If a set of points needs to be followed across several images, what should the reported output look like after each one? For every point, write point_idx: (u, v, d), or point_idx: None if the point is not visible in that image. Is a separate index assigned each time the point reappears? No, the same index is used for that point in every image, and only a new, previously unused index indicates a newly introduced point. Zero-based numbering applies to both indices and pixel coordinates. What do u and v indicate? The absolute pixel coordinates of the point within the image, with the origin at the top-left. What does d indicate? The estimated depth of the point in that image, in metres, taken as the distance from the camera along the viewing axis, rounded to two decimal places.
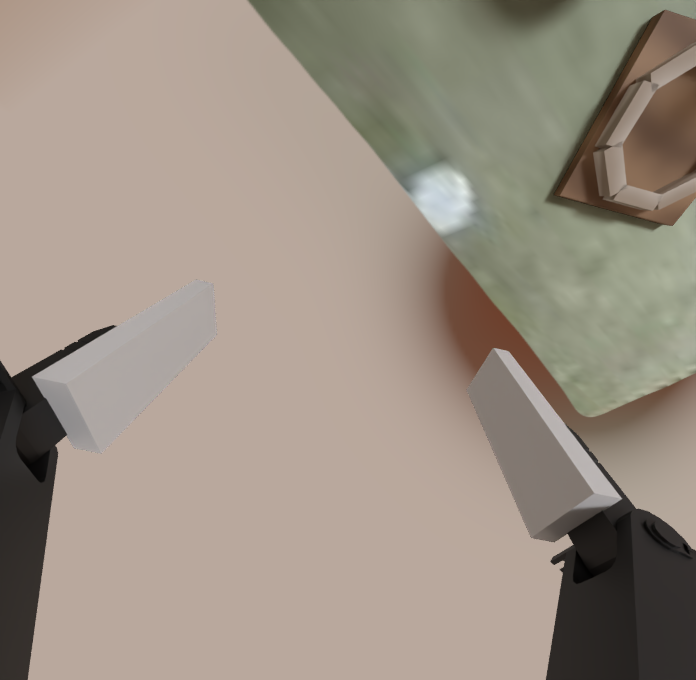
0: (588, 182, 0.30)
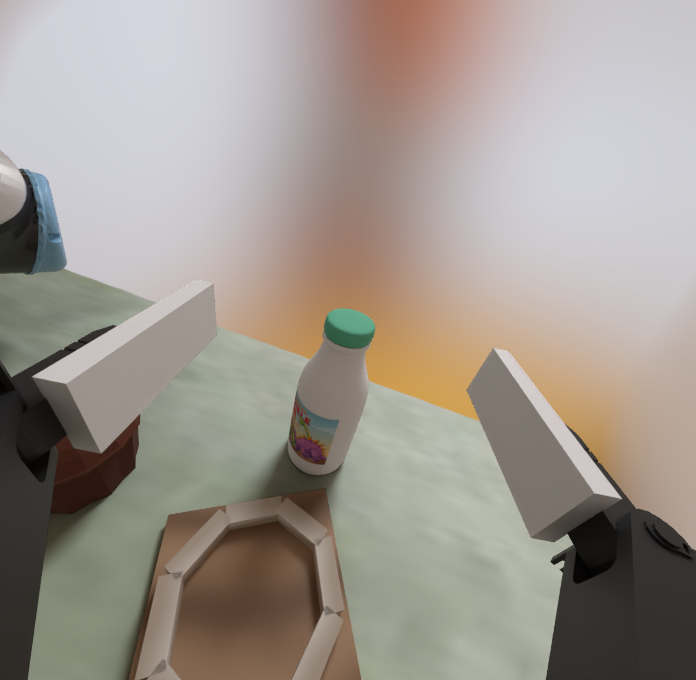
0: None
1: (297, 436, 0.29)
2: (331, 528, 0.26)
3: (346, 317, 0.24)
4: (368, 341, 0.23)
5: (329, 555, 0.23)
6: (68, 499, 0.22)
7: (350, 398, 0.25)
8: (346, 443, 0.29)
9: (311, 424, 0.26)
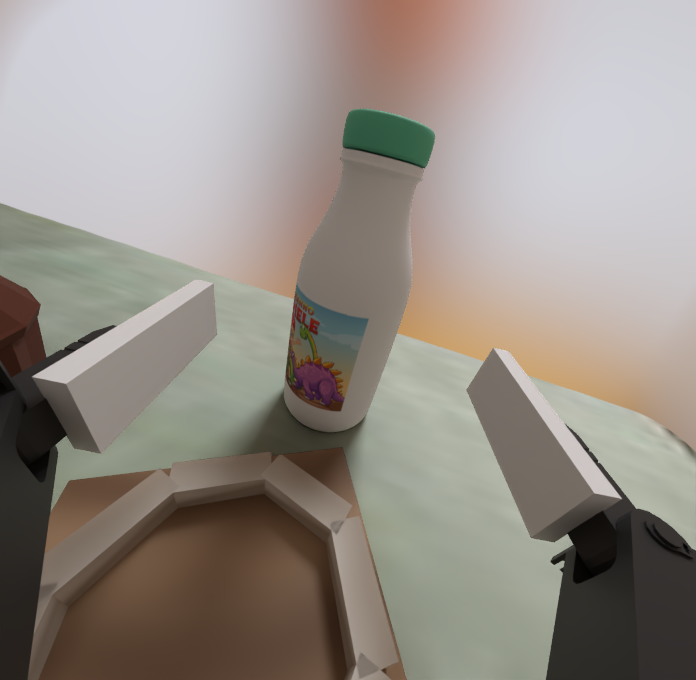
0: None
1: (297, 363, 0.18)
2: (356, 506, 0.16)
3: None
4: (425, 152, 0.13)
5: (358, 550, 0.12)
6: None
7: (388, 275, 0.14)
8: (374, 376, 0.19)
9: (320, 331, 0.16)
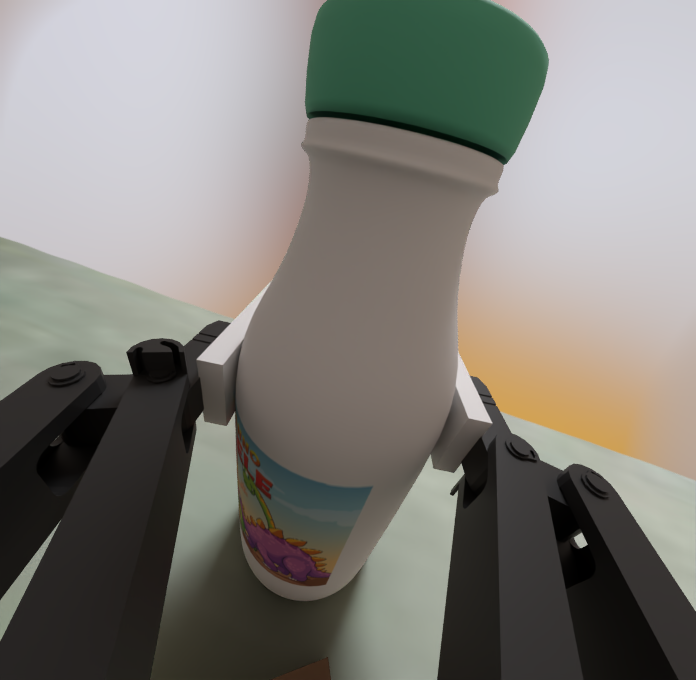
0: None
1: (247, 516, 0.10)
2: None
3: None
4: (524, 121, 0.05)
5: None
6: None
7: (417, 407, 0.06)
8: (383, 530, 0.11)
9: (276, 497, 0.08)
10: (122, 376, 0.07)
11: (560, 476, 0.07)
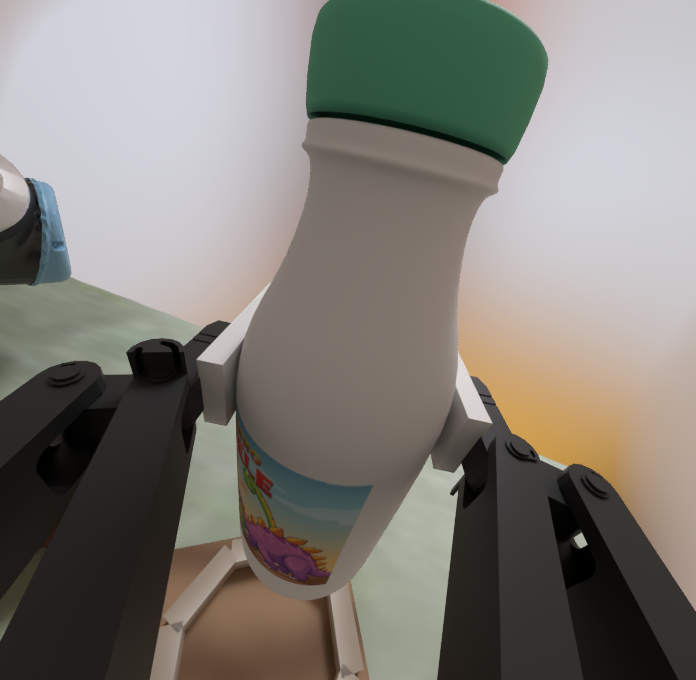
0: None
1: (247, 515, 0.10)
2: None
3: None
4: (523, 121, 0.05)
5: (345, 601, 0.21)
6: None
7: (417, 406, 0.06)
8: (383, 529, 0.11)
9: (277, 496, 0.08)
10: (122, 376, 0.07)
11: (560, 476, 0.07)
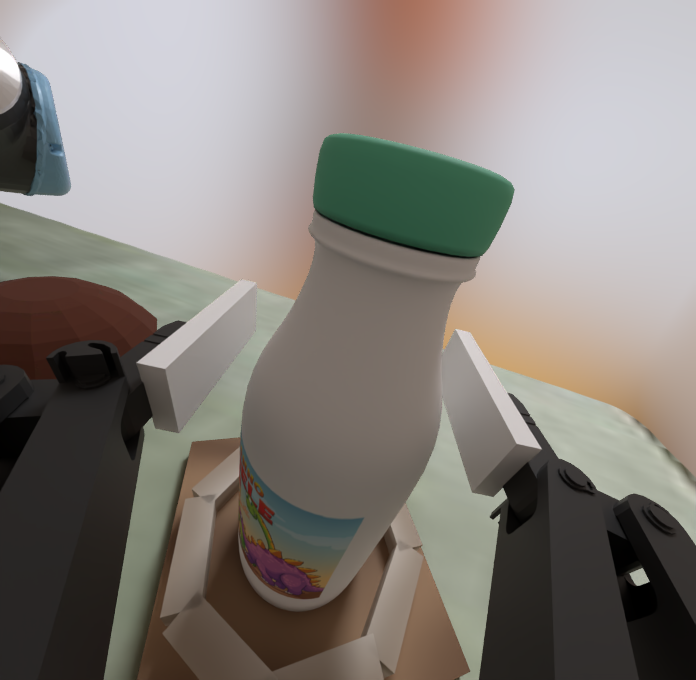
0: None
1: (247, 535, 0.11)
2: None
3: None
4: (494, 232, 0.06)
5: None
6: None
7: (404, 452, 0.07)
8: (373, 548, 0.12)
9: (277, 523, 0.09)
10: (54, 381, 0.07)
11: (617, 505, 0.07)
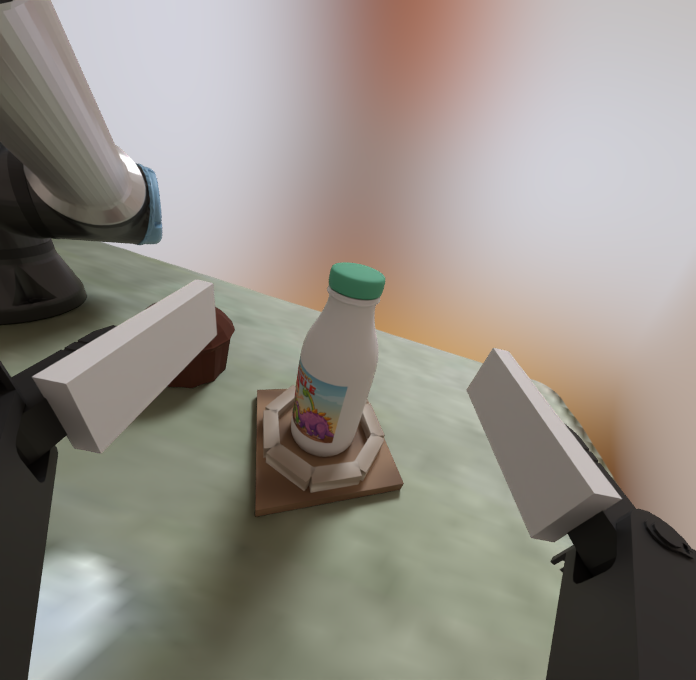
0: (280, 485, 0.25)
1: (301, 411, 0.26)
2: None
3: (353, 268, 0.21)
4: (378, 292, 0.21)
5: (370, 411, 0.34)
6: (194, 373, 0.33)
7: (359, 360, 0.22)
8: (355, 418, 0.27)
9: (316, 393, 0.24)
10: None
11: None
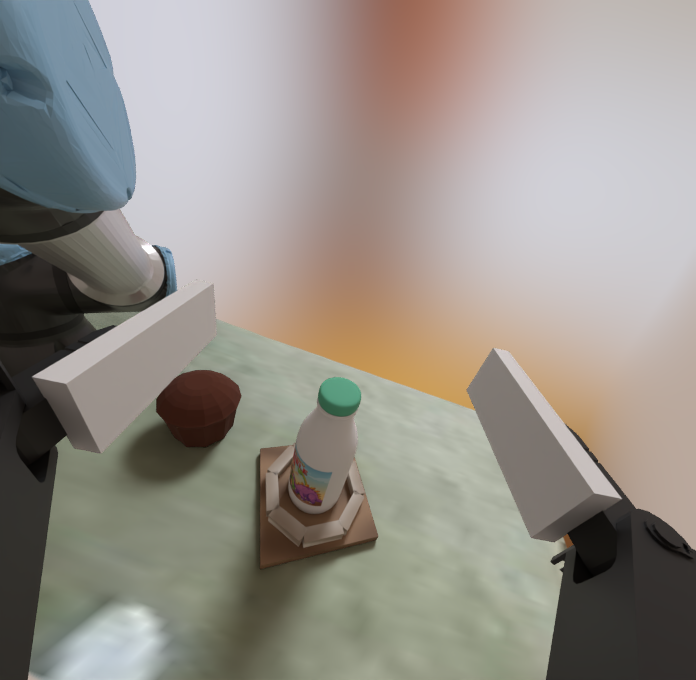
0: (279, 542, 0.32)
1: (296, 482, 0.33)
2: (354, 459, 0.44)
3: (336, 388, 0.28)
4: (355, 409, 0.27)
5: (354, 469, 0.41)
6: (208, 436, 0.40)
7: (341, 454, 0.29)
8: (339, 487, 0.34)
9: (308, 475, 0.31)
10: None
11: None
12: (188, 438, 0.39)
